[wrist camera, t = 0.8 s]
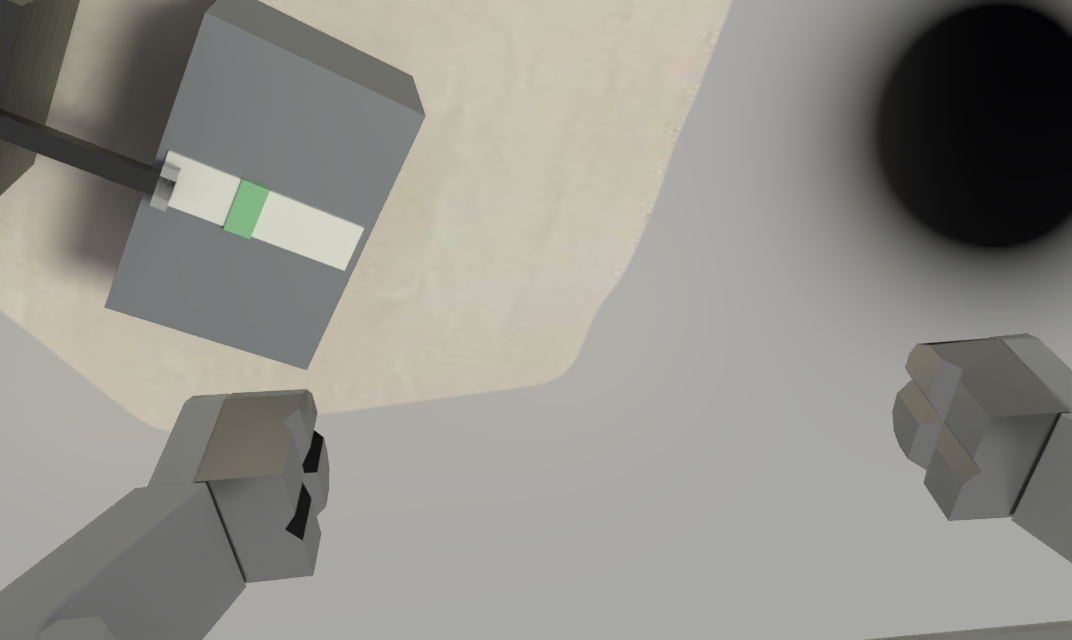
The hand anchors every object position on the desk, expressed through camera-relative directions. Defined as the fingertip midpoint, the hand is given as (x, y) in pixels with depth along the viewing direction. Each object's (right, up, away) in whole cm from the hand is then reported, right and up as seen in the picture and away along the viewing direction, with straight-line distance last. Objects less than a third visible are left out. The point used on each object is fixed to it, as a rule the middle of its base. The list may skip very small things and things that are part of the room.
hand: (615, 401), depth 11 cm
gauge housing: (-19, +12, +42) cm, 48 cm away
